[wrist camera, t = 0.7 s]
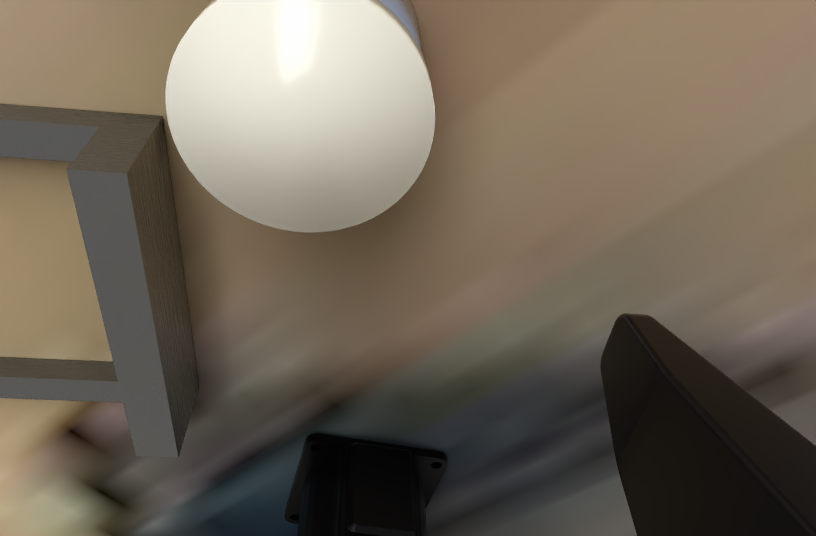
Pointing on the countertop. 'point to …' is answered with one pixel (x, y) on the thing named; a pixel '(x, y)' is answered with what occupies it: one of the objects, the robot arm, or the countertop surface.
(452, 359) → the countertop surface
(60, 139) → the gray u-shaped archway
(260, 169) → the jar
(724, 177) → the countertop surface
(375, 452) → the robot arm
